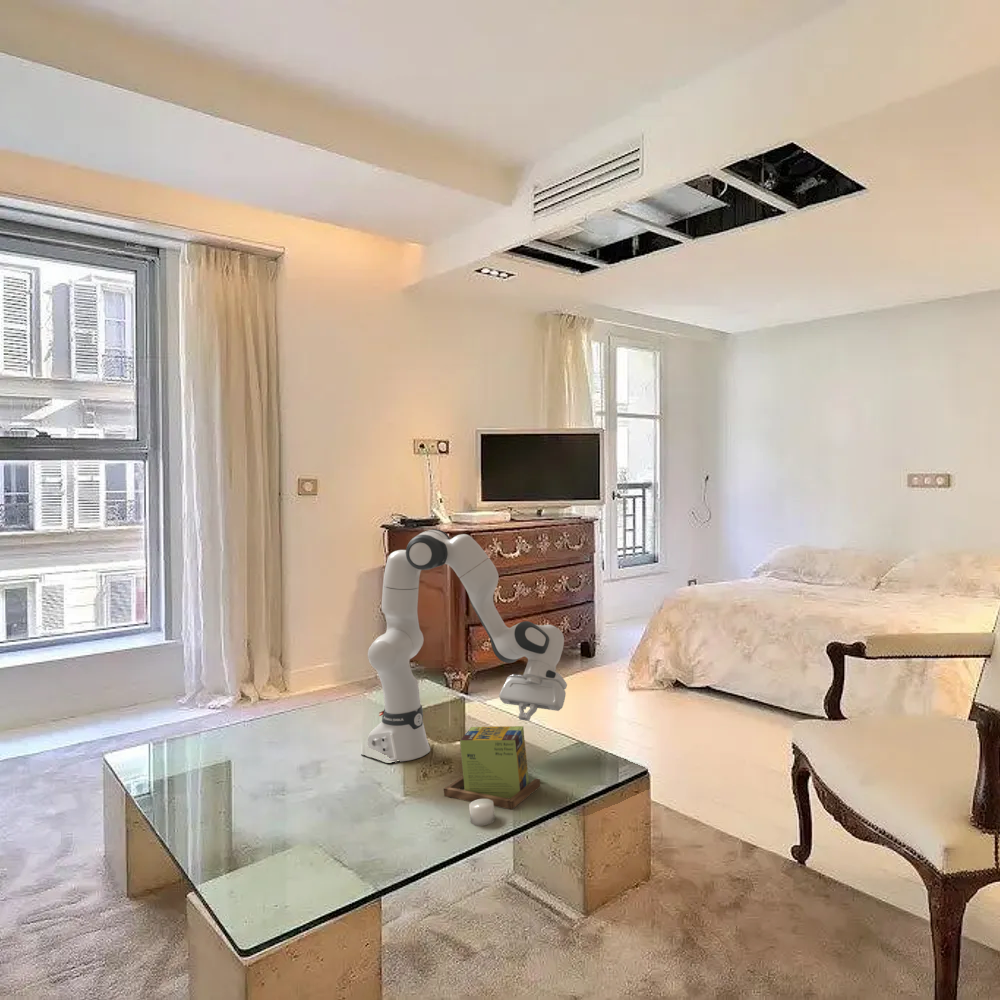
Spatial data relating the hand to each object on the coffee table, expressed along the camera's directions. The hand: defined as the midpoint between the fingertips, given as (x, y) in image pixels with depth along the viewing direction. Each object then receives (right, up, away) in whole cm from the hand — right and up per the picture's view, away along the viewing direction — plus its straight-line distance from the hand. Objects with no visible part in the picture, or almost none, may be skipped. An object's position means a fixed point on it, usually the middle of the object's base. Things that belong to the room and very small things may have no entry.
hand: (523, 719), depth 211 cm
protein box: (-7, -15, -15) cm, 22 cm away
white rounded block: (-11, -15, -31) cm, 37 cm away
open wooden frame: (-8, -14, -15) cm, 23 cm away
